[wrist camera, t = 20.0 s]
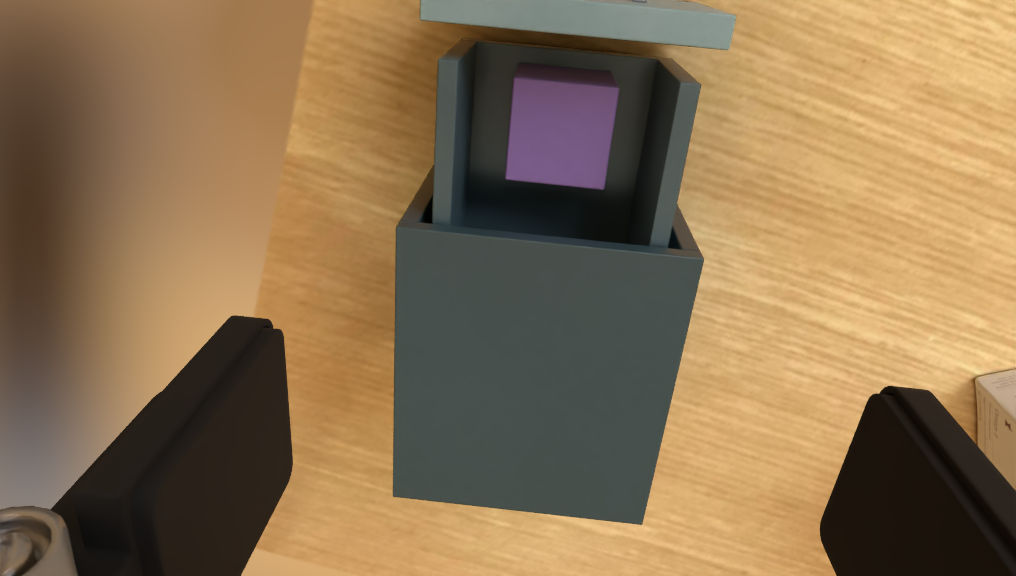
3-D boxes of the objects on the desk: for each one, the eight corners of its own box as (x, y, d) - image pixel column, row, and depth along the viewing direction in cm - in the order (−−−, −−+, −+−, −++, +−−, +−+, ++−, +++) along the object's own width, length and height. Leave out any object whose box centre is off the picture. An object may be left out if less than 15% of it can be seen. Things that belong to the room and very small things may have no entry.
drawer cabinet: (434, 162, 36) (395, 226, 28) (669, 186, 36) (704, 258, 27) (425, 388, 43) (392, 497, 34) (625, 410, 42) (642, 525, 34)
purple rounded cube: (510, 154, 34) (504, 180, 30) (518, 62, 32) (513, 77, 28) (598, 163, 34) (604, 190, 30) (612, 71, 32) (620, 87, 28)
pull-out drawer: (456, -152, 29) (424, -186, 22) (721, -127, 29) (774, -154, 22) (439, 246, 37) (412, 312, 30) (645, 267, 37) (666, 340, 30)
